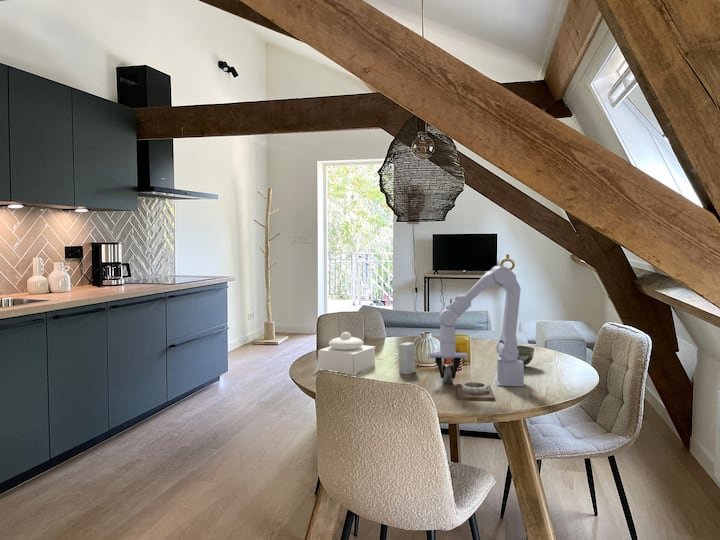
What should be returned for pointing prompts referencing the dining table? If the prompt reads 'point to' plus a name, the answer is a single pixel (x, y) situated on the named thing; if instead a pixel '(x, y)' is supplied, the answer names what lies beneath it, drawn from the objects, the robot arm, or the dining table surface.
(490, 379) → the dining table surface
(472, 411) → the dining table surface
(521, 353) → the bowl
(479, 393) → the collar board
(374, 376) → the dining table surface
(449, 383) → the cylinder
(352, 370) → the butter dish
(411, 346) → the skincare box
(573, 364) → the dining table surface
